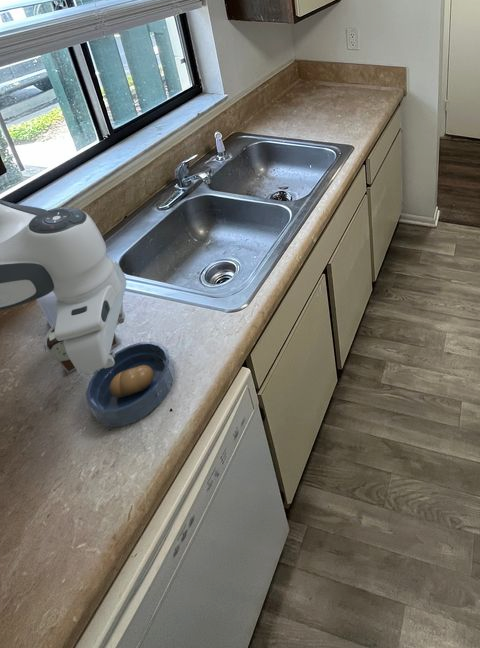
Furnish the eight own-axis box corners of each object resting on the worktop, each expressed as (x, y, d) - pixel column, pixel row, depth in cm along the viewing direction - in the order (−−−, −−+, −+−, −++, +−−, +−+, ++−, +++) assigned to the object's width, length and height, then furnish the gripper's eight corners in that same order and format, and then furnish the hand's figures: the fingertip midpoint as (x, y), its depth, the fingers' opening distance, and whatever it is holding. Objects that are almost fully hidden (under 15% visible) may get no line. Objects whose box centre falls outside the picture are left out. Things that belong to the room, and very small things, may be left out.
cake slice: (117, 323, 103) (104, 292, 98) (125, 340, 99) (111, 309, 94) (54, 358, 95) (36, 327, 90) (59, 378, 91) (41, 346, 87)
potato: (111, 406, 85) (104, 392, 83) (116, 384, 89) (109, 370, 87) (154, 391, 87) (148, 377, 85) (157, 371, 91) (151, 356, 89)
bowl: (86, 440, 80) (77, 425, 78) (103, 370, 92) (96, 355, 90) (171, 410, 85) (165, 395, 83) (177, 347, 97) (171, 332, 94)
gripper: (84, 253, 84) (108, 303, 90) (50, 344, 67) (81, 399, 73) (122, 244, 86) (142, 294, 92) (97, 330, 69) (124, 384, 75)
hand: (115, 341), depth 82 cm, fingers open, 8 cm apart
